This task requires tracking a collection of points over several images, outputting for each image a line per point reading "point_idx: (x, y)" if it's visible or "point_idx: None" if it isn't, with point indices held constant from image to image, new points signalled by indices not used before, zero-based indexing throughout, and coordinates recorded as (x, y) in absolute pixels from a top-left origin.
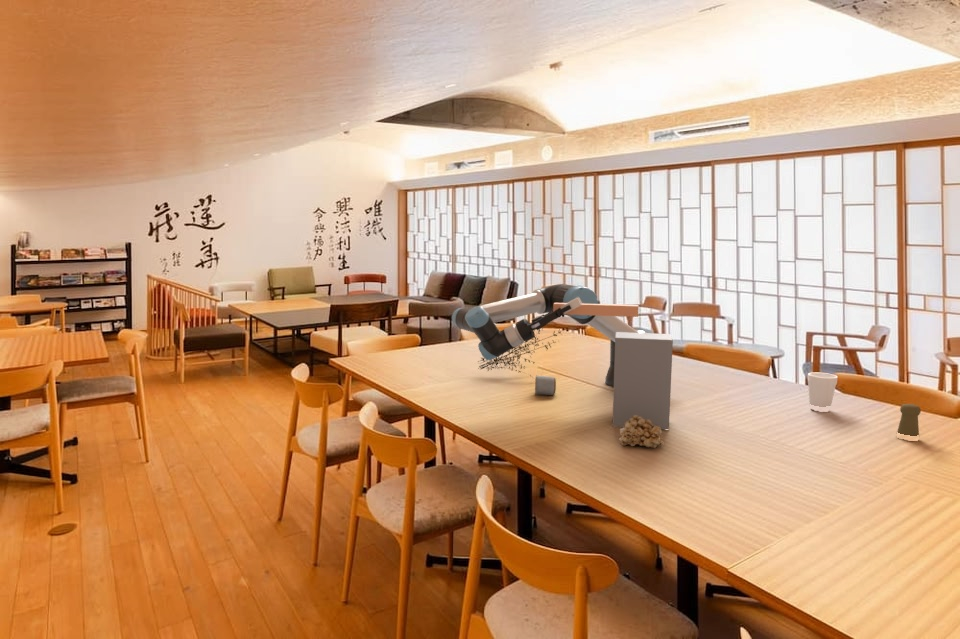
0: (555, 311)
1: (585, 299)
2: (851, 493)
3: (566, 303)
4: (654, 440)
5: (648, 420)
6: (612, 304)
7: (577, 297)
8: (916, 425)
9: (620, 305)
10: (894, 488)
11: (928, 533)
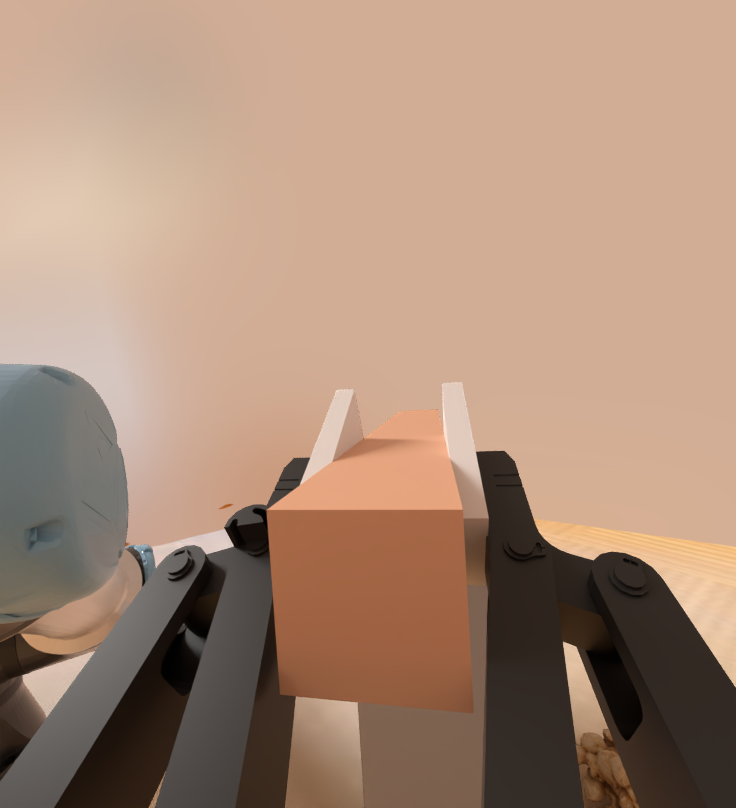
0: (671, 604)
1: (96, 450)
2: (652, 567)
3: (382, 460)
4: None
5: (595, 736)
6: (397, 418)
7: (353, 393)
8: None
9: (429, 414)
10: (598, 543)
11: (719, 550)
